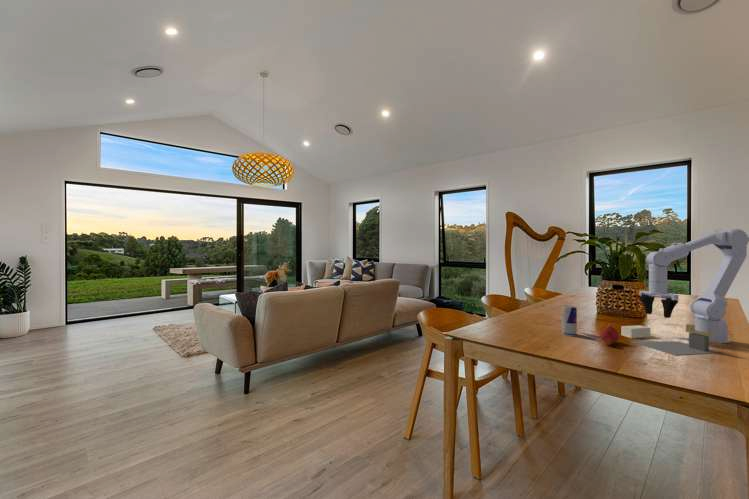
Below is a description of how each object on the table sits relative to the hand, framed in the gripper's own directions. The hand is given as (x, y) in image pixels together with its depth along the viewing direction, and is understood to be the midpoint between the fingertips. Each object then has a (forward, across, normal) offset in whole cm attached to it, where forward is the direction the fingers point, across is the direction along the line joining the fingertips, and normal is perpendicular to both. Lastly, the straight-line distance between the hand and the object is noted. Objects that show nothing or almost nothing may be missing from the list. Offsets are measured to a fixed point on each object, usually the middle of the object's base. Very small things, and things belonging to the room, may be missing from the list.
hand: (657, 315), depth 140 cm
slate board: (+9, +12, -8) cm, 17 cm away
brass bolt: (+3, +17, -3) cm, 18 cm away
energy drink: (+10, -12, -30) cm, 34 cm away
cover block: (+10, -2, -8) cm, 13 cm away
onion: (+10, +4, -26) cm, 28 cm away
